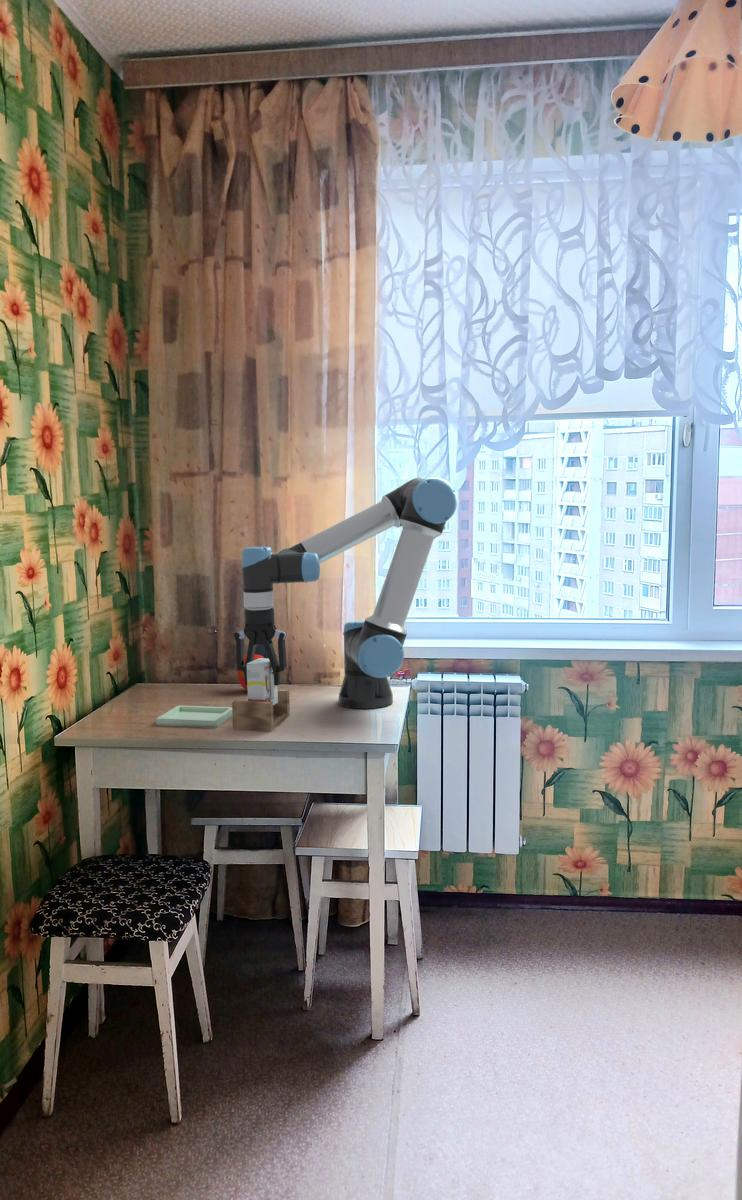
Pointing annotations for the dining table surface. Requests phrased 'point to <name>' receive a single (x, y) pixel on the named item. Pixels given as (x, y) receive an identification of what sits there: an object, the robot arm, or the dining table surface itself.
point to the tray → (195, 716)
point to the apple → (241, 673)
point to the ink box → (260, 681)
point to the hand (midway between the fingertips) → (263, 697)
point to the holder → (261, 713)
